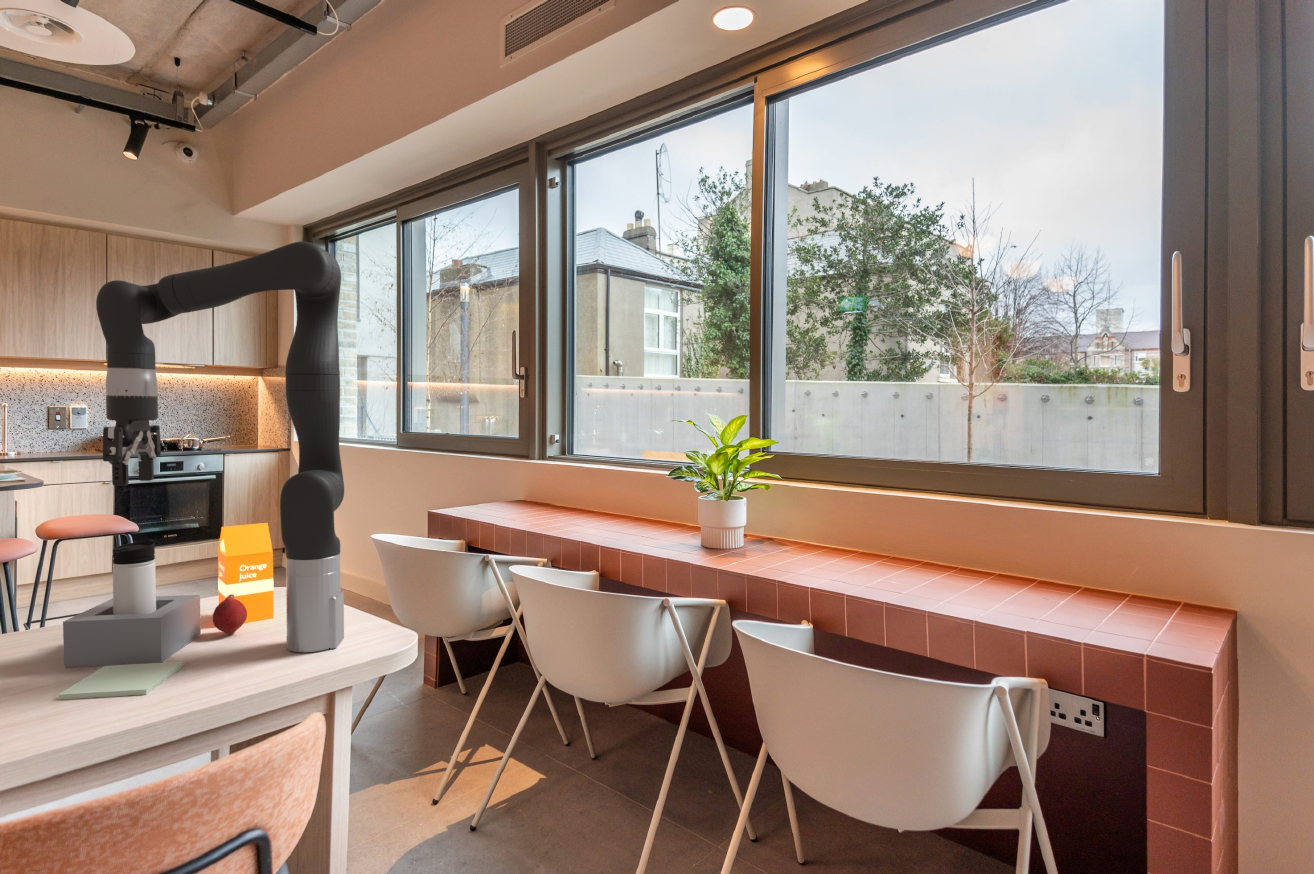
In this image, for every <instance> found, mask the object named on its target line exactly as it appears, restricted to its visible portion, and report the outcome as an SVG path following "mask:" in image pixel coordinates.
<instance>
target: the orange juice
mask: <svg viewBox="0 0 1314 874" xmlns="http://www.w3.org/2000/svg"><path fill="white" fill-rule="evenodd" d="M217 567H218V569H217V571H218V572H217V574H218V576H217V583H218V584H217V587H218V589H217V590H218V605H219V604H220V603H221V602H222V601H224V600H225V599H226V597H227V596H228V595H229V594H233V595H234V599H236V600H238V601H240V602H241V603H242V604H243V605H244V606H245V608H246V610H247V619H246V621H245V623H244V624H249V623H254V622H259V621H264V620H269V619H268V618H271V619H274V618H275V616H274V615H275V614H274V613H275V612H274V603H275V602H274V591H275V590H274V551H273V545H272V539H271V535H270V529H269V523H268V522H264V523H250V524H242V525H241V524H240V525H230V526H229V525H227V526H221V531H220V536H219V543H218V550H217Z"/></svg>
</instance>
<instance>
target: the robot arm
mask: <svg viewBox="0 0 1314 874" xmlns="http://www.w3.org/2000/svg"><path fill="white" fill-rule="evenodd" d="M160 278H161V277H160ZM341 283H342V271H341V268H340V264H339V262H338V261H337V259H336V258H335V257H334V256H333V255H332V253H330V252H329V251H327V250H325V249H324V248H322V247H321V246H319V245H317V244H315V243H313V242H308V241H304V240H303V241H295V242H291V243H289V244H286V245H283V246H280V247H277V248H275V249H271V250H269V251H266V252H263V253H261V254H257V255H255V256H251V257H248V258H245V259H240V260H238V261H233V262H230V263H226V264H221V265H216V266H211V267H207V268H200V269H194V270H189V271H184V272H178V273H177V272H176V273H174V274H168V275H166V276H163V277H162V278H161V279H160V280H159V281H158V282H157V283H153V284H147V285H139V284H136V283H132V282H128V281H124V280H118V279H117V280H111V281H109V282H106V283H104V284H103V285H102V286H101V288H100V289H99V290H98V293H97V296H96V300H95V303H96V304H95V305H96V307H95V308H96V314H97V317H98V321H99V324H100V327H101V331H102V335H103V337H104V339H105V340H104V341H105V342H106V343H105V344H106V364H107V365H106V366H107V369H106V376H105V412H106V414H105V416H106V419H107V420H109V421H115V424H114V425H115V426H104V427H103V429H102V460H103V461H102V462H109V465H111V474H112V475H111V477H112V478H111V479H112V481H111V482H112V485H113V486H117V487H119V486H120V487H124V486H127V485H129V483H130V481H129V464H128V463H129V461H130V458H131V456H132V455H133V454H136V456H137V458H138V480H139V481H140V482H144V481H145V482H147V481H149V482H150V481H154V479H155V476H154V475H155V471H154V468H155V467H154V461H156V460H157V457H160V456H161V455H162V453H161V452H162V449H161V429H160V426H159V425H157V424H150V421H156V420H158V419H159V404H158V403H159V400H158V399H159V396H158V395H159V394H158V393H159V391H158V389H159V388H158V377H157V372H156V368H157V367H156V348H155V343H154V341H153V340H151V339H150V338H149V337H147V336H146V335H145V333H144V329H143V328H144V327H143V325H149V324H153V323H158V322H162V321H165V320H168V319H171V318H173V317H176V316H178V315H181V314H187V313H192V312H199V311H203V310H208V309H213V308H218V307H221V306H224V305H227V304H230V303H233V302H235V301H237V300H239V299H242V298H244V297H247V296H251V295H254V294H259V293H263V292H270V291H287V290H288V291H289V290H290V291H291V290H292V291H294V293H295V294H294V295H295V304H296V306H295V307H296V325H295V330H294V333H293V337H292V339H291V343H290V347H289V349H288V354H287V357H286V362H285V376H284V377H285V398H286V403H287V408H288V412H289V415H290V420H291V422H292V425H293V428H294V430H295V434H296V437H297V441H298V470H297V471H298V472H297V473H296V474H293V475H292V476H291V477H290V478H288V479H287V480H286V481H285V483H284V485H283V486H282V489H281V493H280V498H279V506H280V507H279V510H280V512H279V513H280V514H279V515H280V529H281V541H282V544H283V546H284V548H285V556H286V557H285V577H286V578H285V583H286V585H285V586H286V590H285V592H286V594H285V595H286V597H285V598H286V606H285V607H286V648H287V650H288V651H290V652H293V653H312V652H313V653H314V652H319V651H325V650H329V648H330V649H336V648H337V647H338V646H339V645H340V644H341V643H342V641H343V640H344V638H345V606H344V605H345V601H344V599H345V596H344V595H345V594H344V592H345V591H344V590H343V589H341V587H342V586H341V585H342V583H341V540H340V538H339V537H338V536H337V534H336V531H335V512H336V510H337V509H338V508H340V506H341V504H342V502H343V500H344V497H345V483H344V473H343V468H342V460H341V452H340V429H341V428H340V427H341V425H340V423H341V415H340V413H341V376H340V375H341V373H340V372H341V370H340V351H339V350H340V349H339V347H340V345H339V333H338V318H339V317H338V315H339V302H340V295H341V294H340V293H341V286H342V285H341ZM342 639H343V640H342ZM339 643H340V644H339Z"/></svg>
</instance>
